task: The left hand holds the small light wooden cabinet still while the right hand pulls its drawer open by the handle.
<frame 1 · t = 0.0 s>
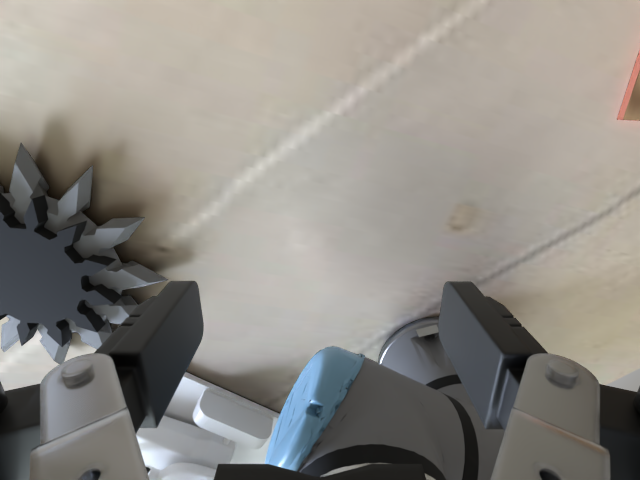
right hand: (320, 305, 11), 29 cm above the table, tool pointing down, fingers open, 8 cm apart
decorative piece: (52, 263, 43), on the table
microscope: (190, 439, 54), on the table
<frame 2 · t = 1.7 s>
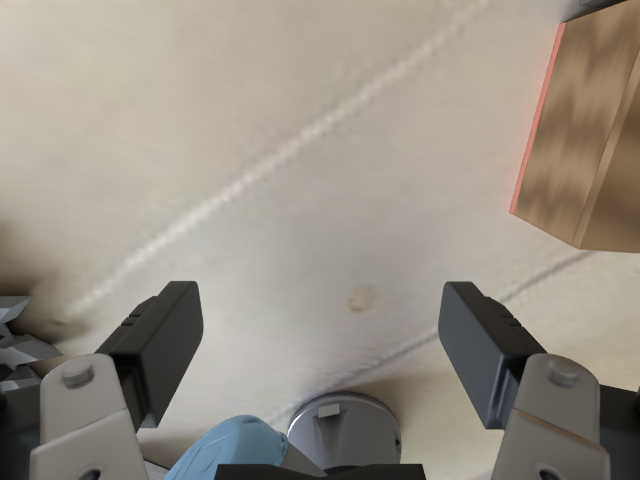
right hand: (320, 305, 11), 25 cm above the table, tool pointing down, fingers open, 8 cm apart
cabinet: (588, 130, 34), on the table
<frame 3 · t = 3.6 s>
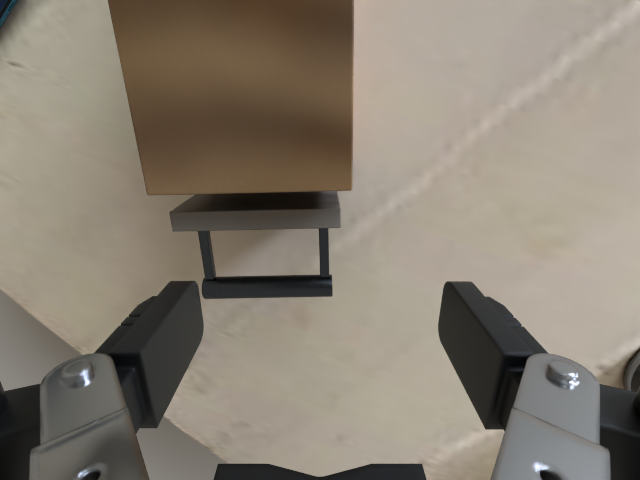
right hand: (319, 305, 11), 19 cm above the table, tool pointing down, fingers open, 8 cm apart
drawer: (260, 133, 23), point 5 cm above the table, slide at 1.2 cm
cabinet: (265, 45, 25), on the table, touching left hand
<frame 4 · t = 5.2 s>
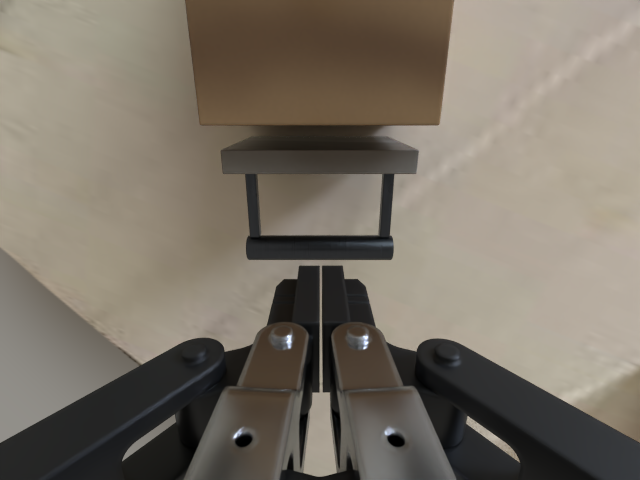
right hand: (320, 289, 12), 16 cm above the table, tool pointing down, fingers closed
drawer: (319, 70, 20), point 5 cm above the table, slide at 1.2 cm
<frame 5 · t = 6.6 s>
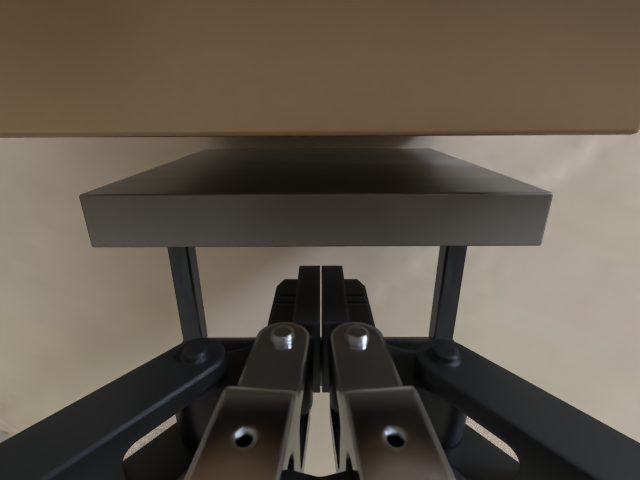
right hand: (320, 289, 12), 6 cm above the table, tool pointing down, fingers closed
drawer: (316, 21, 10), point 5 cm above the table, slide at 1.2 cm, touching right hand
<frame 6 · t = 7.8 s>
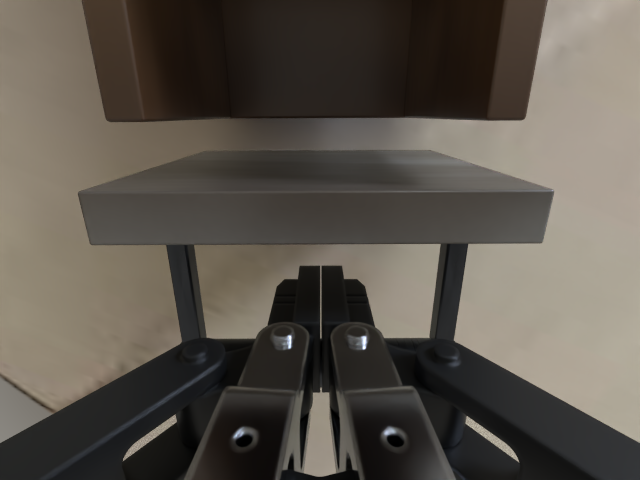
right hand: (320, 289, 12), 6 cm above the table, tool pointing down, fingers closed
drawer: (316, 22, 10), point 5 cm above the table, slide at 7.7 cm, touching right hand
when the left hand's fingers open (6 cm above the table, at t = 9.7 s): cabinet stays where it is, on the table.
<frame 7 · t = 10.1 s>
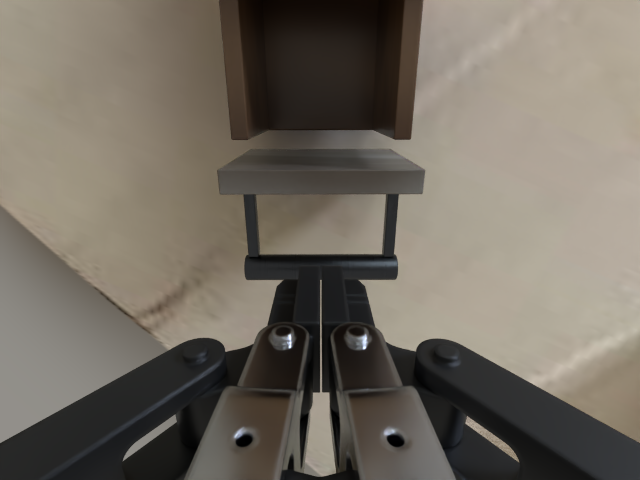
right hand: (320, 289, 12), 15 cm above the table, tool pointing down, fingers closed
drawer: (320, 84, 19), point 5 cm above the table, slide at 8.3 cm
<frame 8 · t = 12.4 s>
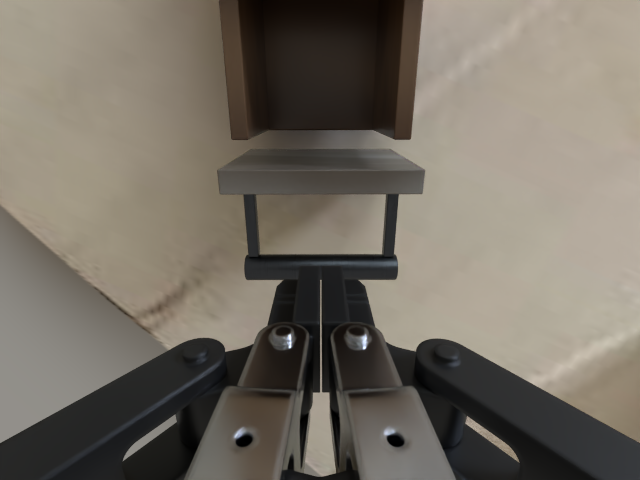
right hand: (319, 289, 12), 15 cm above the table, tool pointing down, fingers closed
drawer: (320, 84, 19), point 5 cm above the table, slide at 8.3 cm
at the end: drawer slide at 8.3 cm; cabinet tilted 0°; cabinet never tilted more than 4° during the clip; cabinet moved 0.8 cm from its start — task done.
